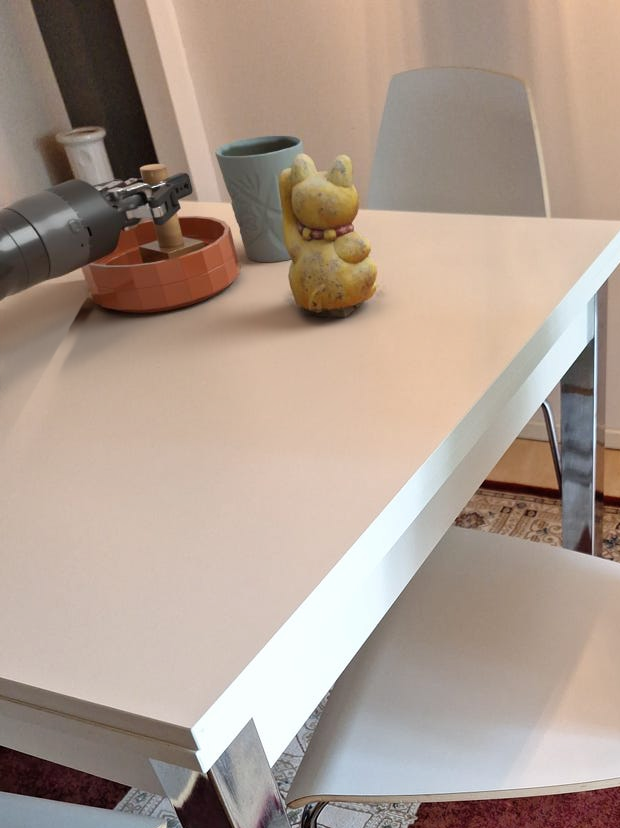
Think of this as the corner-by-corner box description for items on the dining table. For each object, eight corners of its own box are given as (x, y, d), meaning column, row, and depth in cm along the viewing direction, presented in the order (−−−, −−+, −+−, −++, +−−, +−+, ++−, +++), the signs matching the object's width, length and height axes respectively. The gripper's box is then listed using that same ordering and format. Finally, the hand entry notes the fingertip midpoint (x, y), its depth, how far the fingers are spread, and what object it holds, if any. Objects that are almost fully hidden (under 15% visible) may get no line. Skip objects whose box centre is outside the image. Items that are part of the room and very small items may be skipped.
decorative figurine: (389, 295, 101) (367, 144, 91) (369, 325, 95) (342, 167, 85) (306, 296, 103) (275, 148, 93) (281, 326, 97) (245, 172, 87)
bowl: (80, 325, 102) (61, 275, 98) (109, 272, 115) (93, 226, 111) (235, 305, 102) (221, 255, 99) (246, 255, 115) (235, 208, 112)
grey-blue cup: (226, 263, 114) (199, 157, 106) (264, 235, 121) (241, 134, 113) (300, 264, 111) (277, 155, 103) (334, 236, 118) (315, 132, 110)
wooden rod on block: (147, 282, 107) (118, 169, 100) (182, 269, 111) (157, 159, 103) (176, 289, 105) (148, 174, 97) (211, 276, 108) (187, 164, 101)
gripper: (27, 262, 98) (143, 212, 109) (120, 275, 92) (233, 221, 103) (-3, 187, 93) (122, 142, 104) (93, 196, 87) (214, 147, 98)
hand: (176, 181), depth 103 cm, fingers closed on wooden rod on block, 3 cm apart
